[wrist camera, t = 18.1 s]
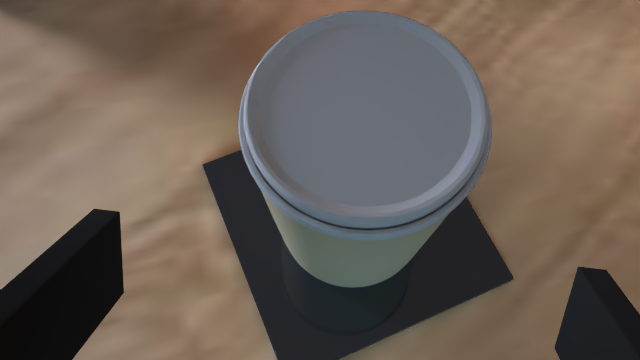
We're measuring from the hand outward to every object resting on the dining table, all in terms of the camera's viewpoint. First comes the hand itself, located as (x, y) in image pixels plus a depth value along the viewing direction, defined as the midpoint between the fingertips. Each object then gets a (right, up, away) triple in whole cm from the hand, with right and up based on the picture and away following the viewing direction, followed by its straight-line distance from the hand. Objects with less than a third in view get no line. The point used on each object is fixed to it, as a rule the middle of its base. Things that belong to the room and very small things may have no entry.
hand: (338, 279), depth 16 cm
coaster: (+1, +1, +15) cm, 15 cm away
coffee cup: (+1, +1, +15) cm, 15 cm away
